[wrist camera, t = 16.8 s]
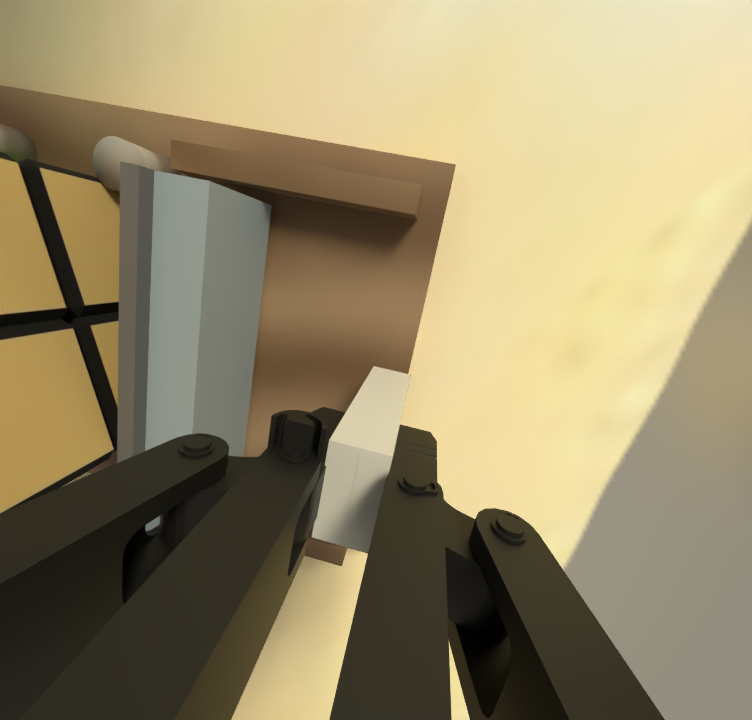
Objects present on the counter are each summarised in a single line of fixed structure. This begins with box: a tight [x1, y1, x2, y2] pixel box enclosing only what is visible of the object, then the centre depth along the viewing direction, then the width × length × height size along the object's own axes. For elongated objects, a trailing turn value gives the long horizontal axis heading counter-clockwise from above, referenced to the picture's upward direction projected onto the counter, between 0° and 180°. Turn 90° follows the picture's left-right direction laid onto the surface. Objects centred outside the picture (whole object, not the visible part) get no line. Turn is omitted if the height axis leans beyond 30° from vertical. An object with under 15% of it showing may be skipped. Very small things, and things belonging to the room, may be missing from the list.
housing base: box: [0, 85, 456, 566], centre depth 17 cm, size 18×24×4 cm
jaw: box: [117, 162, 272, 531], centre depth 15 cm, size 14×2×5 cm, turn 169°
